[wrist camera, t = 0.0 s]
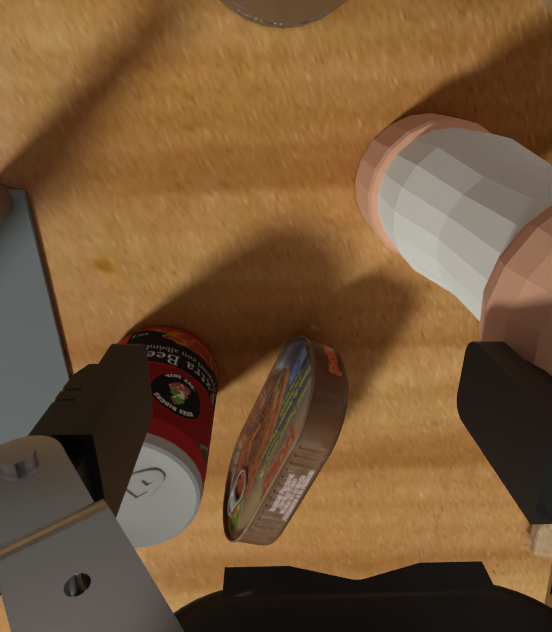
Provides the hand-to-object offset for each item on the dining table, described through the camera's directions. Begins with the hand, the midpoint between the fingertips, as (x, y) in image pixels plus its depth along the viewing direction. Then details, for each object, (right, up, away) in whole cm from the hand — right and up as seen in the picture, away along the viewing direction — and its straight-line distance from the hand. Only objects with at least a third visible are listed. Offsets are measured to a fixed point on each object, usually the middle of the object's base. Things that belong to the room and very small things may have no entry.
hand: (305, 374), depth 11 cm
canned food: (-9, -2, +21) cm, 22 cm away
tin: (-1, -5, +22) cm, 23 cm away
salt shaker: (+7, +9, +15) cm, 19 cm away
